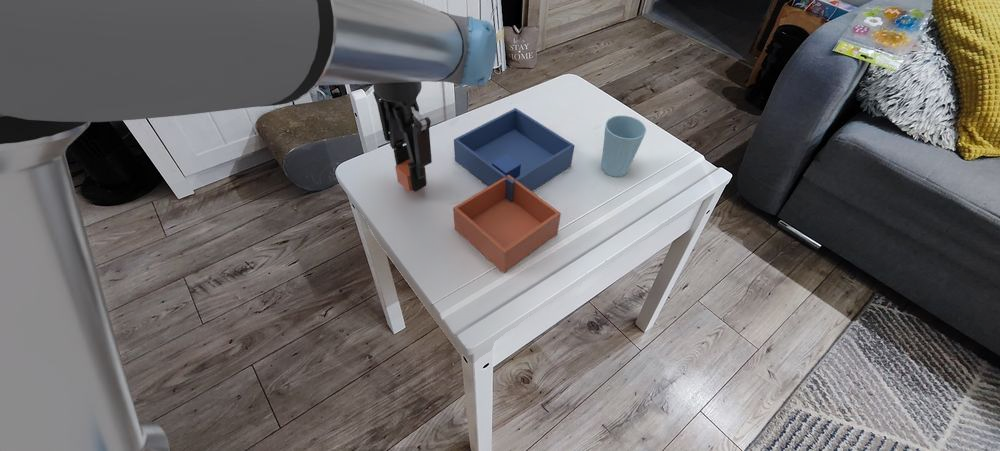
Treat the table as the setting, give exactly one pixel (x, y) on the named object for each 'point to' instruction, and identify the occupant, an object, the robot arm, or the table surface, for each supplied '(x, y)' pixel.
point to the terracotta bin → (506, 223)
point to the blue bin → (514, 151)
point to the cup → (621, 144)
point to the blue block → (508, 166)
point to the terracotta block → (405, 175)
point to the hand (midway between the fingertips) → (412, 181)
